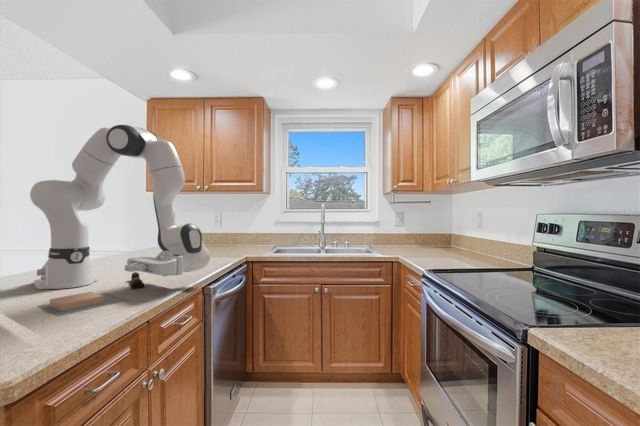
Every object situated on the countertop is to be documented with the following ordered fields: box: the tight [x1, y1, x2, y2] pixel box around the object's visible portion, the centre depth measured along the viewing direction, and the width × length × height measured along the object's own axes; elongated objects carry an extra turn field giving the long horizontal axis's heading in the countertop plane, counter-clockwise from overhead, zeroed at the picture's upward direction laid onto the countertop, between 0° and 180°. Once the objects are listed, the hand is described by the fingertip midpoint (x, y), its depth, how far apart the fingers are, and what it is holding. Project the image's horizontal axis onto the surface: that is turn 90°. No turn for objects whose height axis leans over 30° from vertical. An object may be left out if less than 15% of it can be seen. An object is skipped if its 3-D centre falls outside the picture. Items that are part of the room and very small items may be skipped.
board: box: [37, 292, 130, 317], centre depth 92 cm, size 14×18×2 cm
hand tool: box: [130, 271, 145, 290], centre depth 118 cm, size 19×4×5 cm, turn 31°
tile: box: [49, 291, 103, 312], centre depth 90 cm, size 8×2×10 cm
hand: (126, 268), depth 100 cm, fingers closed
